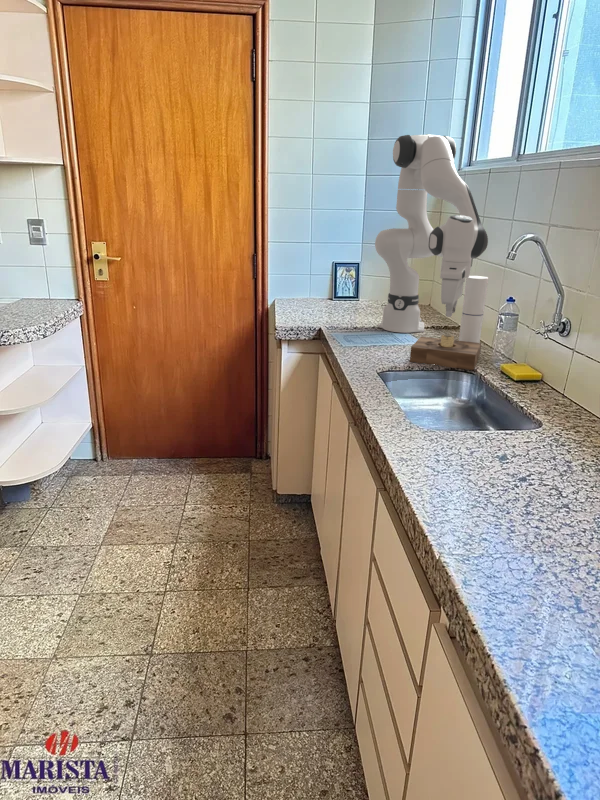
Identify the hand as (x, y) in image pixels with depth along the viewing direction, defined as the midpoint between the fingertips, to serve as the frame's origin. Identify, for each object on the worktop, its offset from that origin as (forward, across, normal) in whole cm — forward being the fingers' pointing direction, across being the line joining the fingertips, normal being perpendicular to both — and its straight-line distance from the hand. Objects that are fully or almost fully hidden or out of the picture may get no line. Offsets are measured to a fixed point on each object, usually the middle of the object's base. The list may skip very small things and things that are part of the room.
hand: (450, 314), depth 177 cm
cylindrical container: (+15, -19, +5) cm, 25 cm away
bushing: (+15, 0, 0) cm, 15 cm away
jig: (+15, 0, 0) cm, 15 cm away
